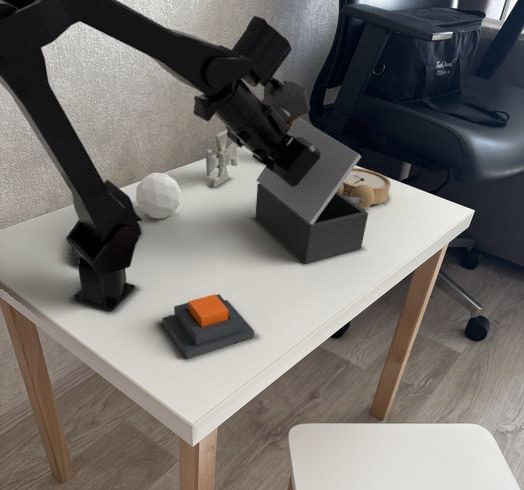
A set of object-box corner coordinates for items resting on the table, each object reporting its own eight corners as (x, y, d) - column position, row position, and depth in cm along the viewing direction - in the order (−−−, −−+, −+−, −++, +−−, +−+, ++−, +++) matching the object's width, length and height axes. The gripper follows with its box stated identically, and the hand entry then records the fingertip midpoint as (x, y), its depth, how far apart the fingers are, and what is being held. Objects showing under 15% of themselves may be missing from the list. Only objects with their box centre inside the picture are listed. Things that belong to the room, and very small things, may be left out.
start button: (201, 328, 75) (201, 317, 74) (188, 311, 77) (188, 301, 76) (228, 320, 77) (228, 309, 75) (214, 304, 79) (214, 293, 78)
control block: (187, 359, 74) (186, 341, 72) (162, 324, 79) (161, 307, 77) (253, 337, 78) (255, 320, 76) (226, 306, 83) (227, 289, 81)
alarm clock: (400, 179, 114) (370, 191, 103) (393, 203, 117) (362, 217, 106) (351, 163, 119) (316, 172, 108) (345, 186, 122) (311, 198, 110)
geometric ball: (170, 231, 104) (183, 210, 97) (127, 217, 101) (137, 194, 94) (176, 196, 106) (190, 173, 99) (134, 181, 103) (146, 157, 96)
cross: (212, 193, 111) (213, 141, 104) (201, 189, 112) (201, 138, 105) (240, 175, 118) (243, 126, 111) (229, 172, 119) (231, 123, 112)
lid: (300, 119, 96) (298, 117, 96) (361, 156, 86) (358, 154, 85) (259, 182, 100) (256, 180, 99) (312, 225, 89) (309, 223, 89)
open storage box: (307, 207, 109) (311, 173, 104) (361, 249, 98) (368, 213, 94) (254, 219, 104) (257, 183, 100) (305, 264, 94) (310, 226, 89)
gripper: (318, 86, 73) (369, 157, 85) (247, 48, 85) (300, 115, 97) (261, 154, 75) (318, 214, 87) (199, 108, 87) (257, 167, 99)
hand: (298, 174), depth 92 cm, fingers closed
